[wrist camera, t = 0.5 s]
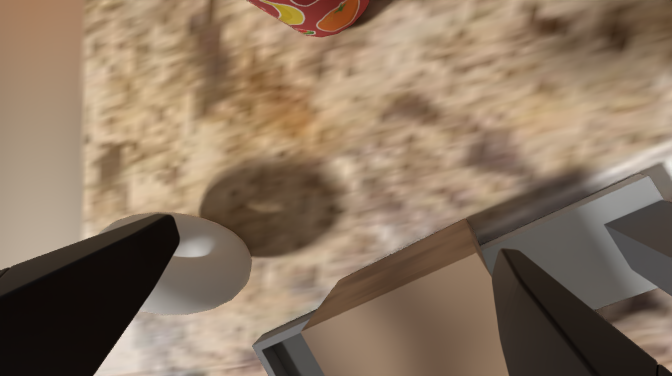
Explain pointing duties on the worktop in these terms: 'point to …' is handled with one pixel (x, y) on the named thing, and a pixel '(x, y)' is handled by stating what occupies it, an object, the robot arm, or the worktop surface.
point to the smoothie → (314, 14)
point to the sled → (601, 243)
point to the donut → (197, 267)
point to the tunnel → (413, 314)
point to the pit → (287, 350)
